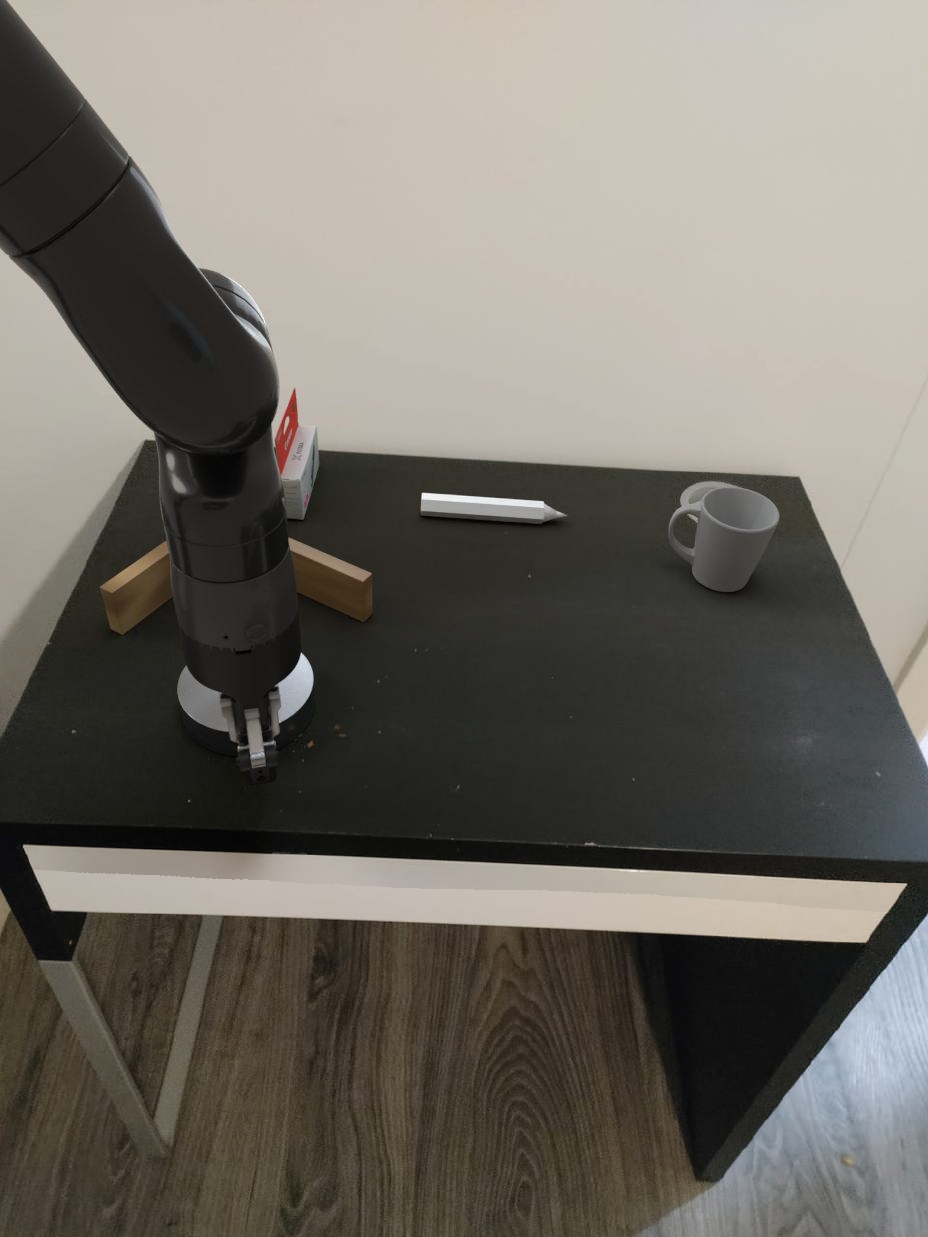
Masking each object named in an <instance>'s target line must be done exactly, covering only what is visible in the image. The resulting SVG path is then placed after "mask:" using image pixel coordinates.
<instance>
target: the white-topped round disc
mask: <svg viewBox="0 0 928 1237" xmlns="http://www.w3.org/2000/svg"><path fill="white" fill-rule="evenodd" d="M313 670H314V669H313V667H312V665H311V663H310V661H309V660H308V658H307V657H306V656H305V654H303V653H302V652H301V656H300V659H299V662H298V664H297V666H296V667H295V669H294V670H293V671H292V672H291V673H290V675H289V676H287V677H286V678H285V679H284V680H283V681H281V682H280V683H278V685H279V692H280V701H281V708H280V709H279V710H278V718H279V727H280V733H279V734H278V735H277V736H275V737H274V738H273V740H274V741H276V751H278V750H279V749H281V748H283V747H285V746H287V745H289V744H290V743H292V742H293V741H295V740H296V739H297V738H298V737H300V735H302V733H303V732H304V731H305V730H306V729H307V728H308V726H309V724H310V723H311V721H312V719H313V717H314V714H315V711H316V710H315V709H316V693H315V692H316V691H315V677H314V671H313ZM176 686H177V689H176V693H177V700H178V704H179V709H180V713H181V719H182V723H183V726H184V729H185V730H186V732H187V734H188V735H189V736H190V737H191V739H192V740H193V741H194V742H196V743H197V744H198V745H199V746H201V747H203V748H204V749H206V750H208V751H210V752H213V753H216V754H219V755H223V756H228V757H238V749H237V747H238V745H239V744H238V743H237V742H233V741H231V740H230V735H229V729H228V723H227V719H226V718H225V717H223V716H222V711H221V705H220V697H219V692H217V691H214V690H212V689H209V688H207V687H205V686H204V685H202V684H200V683H199V682H198V681H197V680H196V679H195V678H194V677H193V676H192V675H191V673H190V672H189V670H188V668H187V665H186V664H185V666H184V668H183V669H182V671H181V673H180V675H179V678H178V681H177V685H176Z"/></svg>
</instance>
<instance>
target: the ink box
mask: <svg viewBox="0 0 928 1237" xmlns="http://www.w3.org/2000/svg"><path fill="white" fill-rule="evenodd" d="M289 397H290V398H289V399H288V402H287V405H286V408H285V410H284V413H283V415H282V418H281V421H280V422H279V426H278V428H277V431H276V434H275V436H274V448H275V456H276V460H277V463H278V467H279V471H280V475H281V479H282V483H283V488H284V494H285V502H286V513H287V519H289V520H290V519H291V520H300V521H304V519H305V515H306V512H307V510H308V506H309V502H310V499H311V496H312V493H313V489H314V485H315V482H316V478H317V475H318V471H319V468H320V454H319V438H318V427H317V425H303V424H302V425H300V424H299V413H298V401H297V400H298V399H297V391H296V387H293V390H292V392H291V394H290V396H289ZM287 418H288V421H287V425H286V419H287ZM285 427H286V428H285Z"/></svg>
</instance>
